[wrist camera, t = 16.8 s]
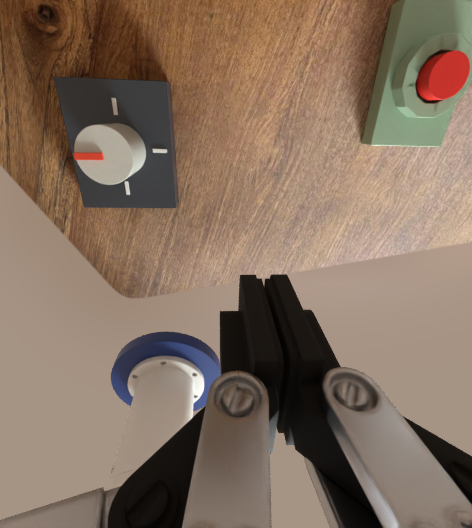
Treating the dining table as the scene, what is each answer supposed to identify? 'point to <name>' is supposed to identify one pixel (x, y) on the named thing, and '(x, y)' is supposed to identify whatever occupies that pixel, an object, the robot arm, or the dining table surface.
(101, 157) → the lock knob
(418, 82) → the button
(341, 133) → the dining table surface
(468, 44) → the button box
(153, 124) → the lock panel
